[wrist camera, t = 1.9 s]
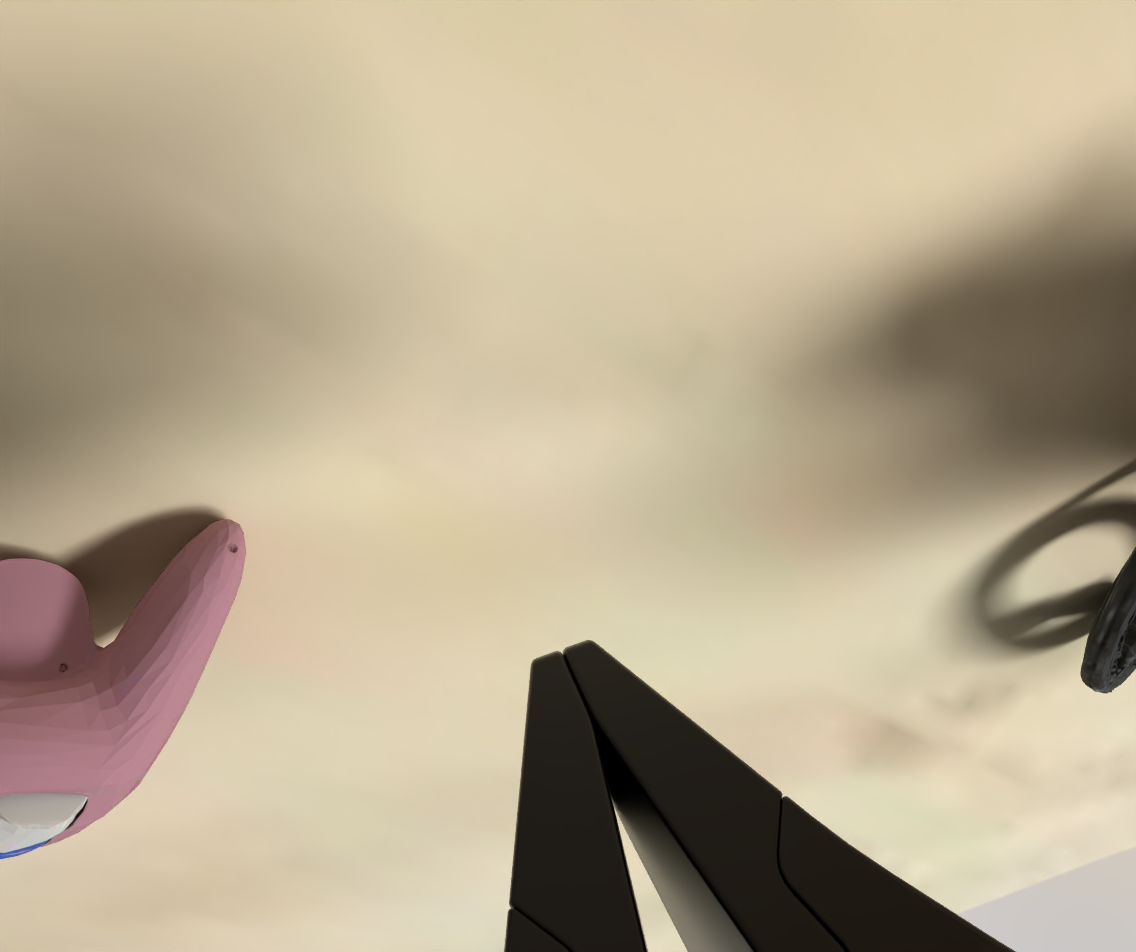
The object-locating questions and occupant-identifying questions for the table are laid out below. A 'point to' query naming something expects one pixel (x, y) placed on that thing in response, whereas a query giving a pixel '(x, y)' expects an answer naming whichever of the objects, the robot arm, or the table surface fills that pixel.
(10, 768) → the video game controller
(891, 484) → the table surface
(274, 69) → the table surface
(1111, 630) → the milk frother
